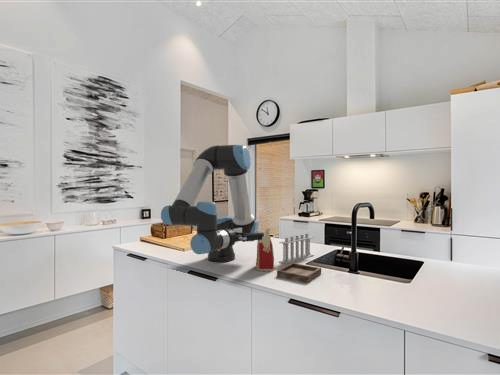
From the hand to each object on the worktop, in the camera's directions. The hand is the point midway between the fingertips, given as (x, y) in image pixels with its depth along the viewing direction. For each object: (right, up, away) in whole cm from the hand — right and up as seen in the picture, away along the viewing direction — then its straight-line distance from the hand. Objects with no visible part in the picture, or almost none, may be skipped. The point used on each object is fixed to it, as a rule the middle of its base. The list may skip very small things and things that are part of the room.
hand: (253, 231), depth 137 cm
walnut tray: (+21, -19, -2) cm, 29 cm away
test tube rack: (+25, -19, +25) cm, 40 cm away
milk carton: (+6, -19, +9) cm, 22 cm away
